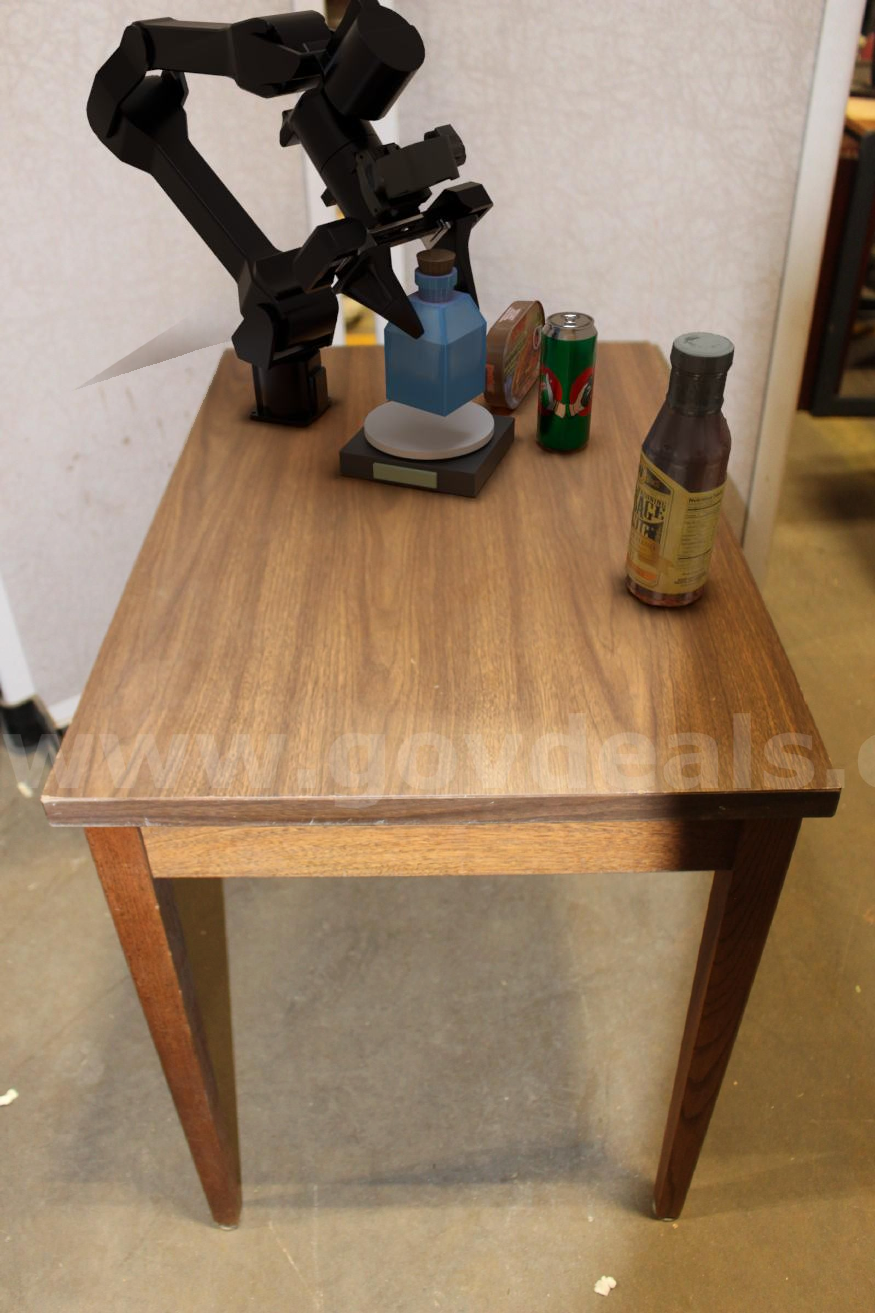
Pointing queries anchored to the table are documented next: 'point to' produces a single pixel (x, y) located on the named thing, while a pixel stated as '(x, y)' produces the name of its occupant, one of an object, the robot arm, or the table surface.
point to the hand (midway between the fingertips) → (448, 325)
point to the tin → (513, 354)
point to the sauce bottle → (682, 476)
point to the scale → (428, 447)
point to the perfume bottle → (437, 343)
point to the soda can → (566, 381)
